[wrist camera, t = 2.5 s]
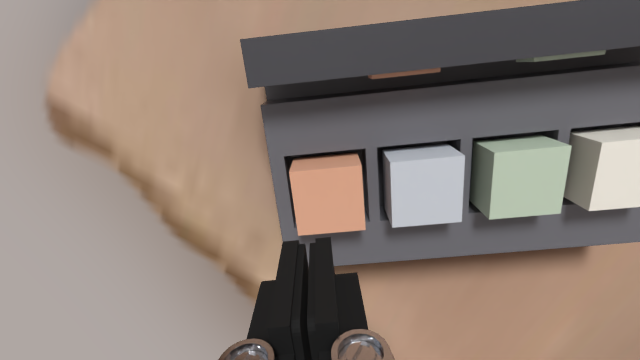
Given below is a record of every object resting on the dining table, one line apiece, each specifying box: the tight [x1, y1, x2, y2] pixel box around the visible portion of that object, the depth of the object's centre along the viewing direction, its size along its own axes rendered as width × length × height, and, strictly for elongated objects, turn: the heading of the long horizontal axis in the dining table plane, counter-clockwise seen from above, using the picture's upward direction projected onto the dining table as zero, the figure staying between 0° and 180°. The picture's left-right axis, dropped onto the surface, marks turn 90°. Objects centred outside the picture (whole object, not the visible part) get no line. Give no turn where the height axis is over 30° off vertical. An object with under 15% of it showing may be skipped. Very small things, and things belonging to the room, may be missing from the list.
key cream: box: [563, 126, 640, 211], centre depth 17 cm, size 4×4×2 cm
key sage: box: [470, 135, 572, 220], centre depth 17 cm, size 4×4×2 cm
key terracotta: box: [289, 152, 366, 236], centre depth 18 cm, size 4×4×2 cm
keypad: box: [240, 0, 640, 267], centre depth 18 cm, size 21×13×6 cm, turn 96°
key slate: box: [382, 144, 465, 228], centre depth 18 cm, size 4×4×2 cm
